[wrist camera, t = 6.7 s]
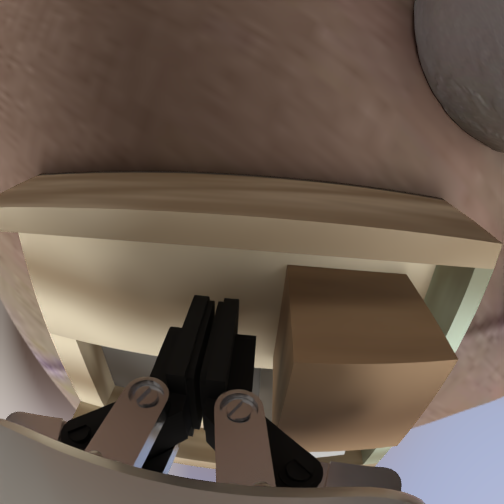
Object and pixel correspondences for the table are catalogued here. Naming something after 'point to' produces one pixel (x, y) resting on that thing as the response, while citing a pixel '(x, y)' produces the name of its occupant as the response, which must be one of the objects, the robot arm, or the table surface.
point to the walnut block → (354, 358)
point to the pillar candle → (465, 62)
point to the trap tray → (220, 263)
